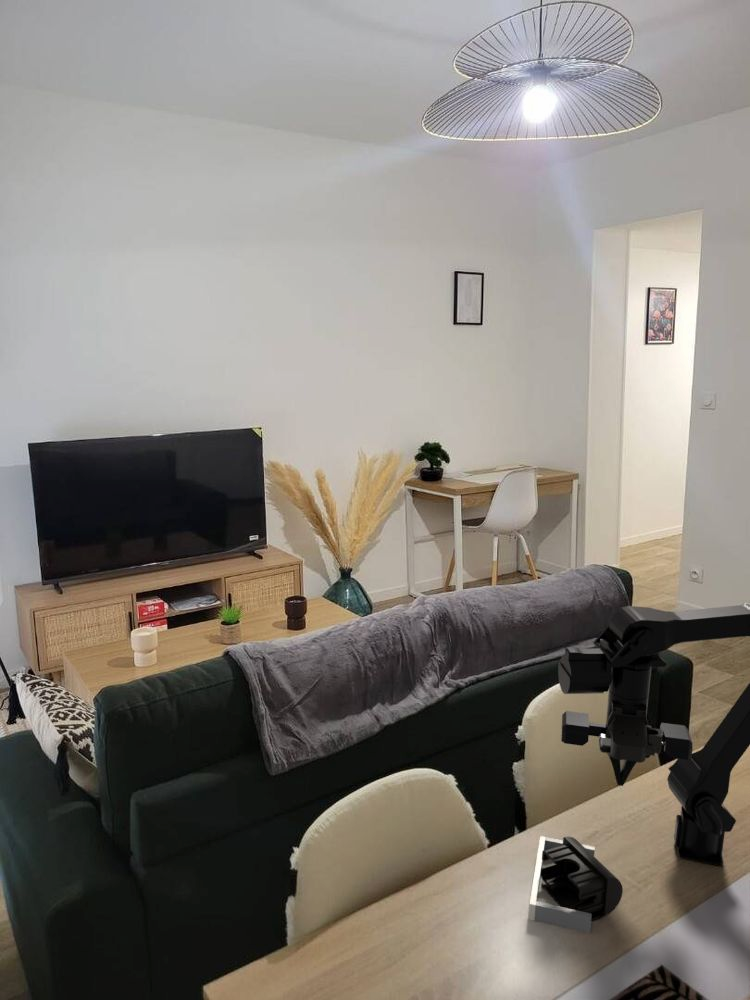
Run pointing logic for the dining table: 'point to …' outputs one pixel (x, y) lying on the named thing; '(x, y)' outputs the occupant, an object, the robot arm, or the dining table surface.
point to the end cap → (580, 880)
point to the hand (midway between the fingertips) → (619, 784)
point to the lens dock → (552, 912)
